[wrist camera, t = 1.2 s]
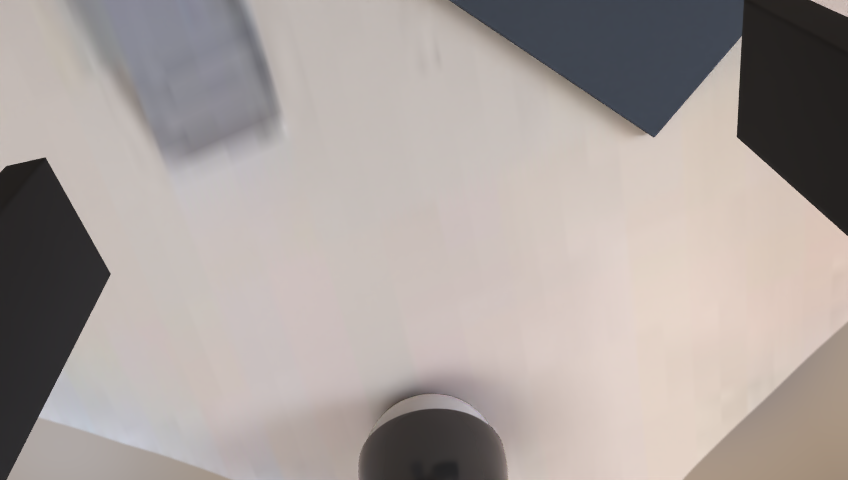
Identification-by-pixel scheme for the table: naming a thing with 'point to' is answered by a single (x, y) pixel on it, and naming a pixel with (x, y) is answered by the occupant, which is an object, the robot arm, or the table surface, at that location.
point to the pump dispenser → (432, 443)
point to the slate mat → (622, 46)
